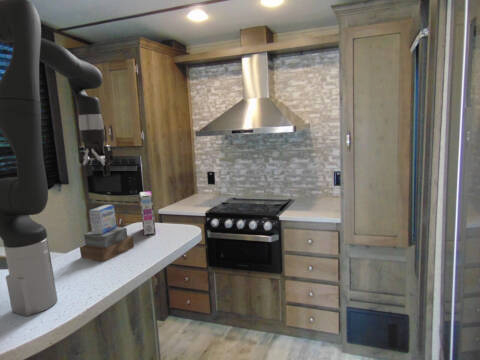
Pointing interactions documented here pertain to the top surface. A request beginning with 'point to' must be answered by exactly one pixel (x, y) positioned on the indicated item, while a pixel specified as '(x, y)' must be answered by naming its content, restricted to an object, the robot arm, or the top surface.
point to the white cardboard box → (147, 213)
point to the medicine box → (102, 219)
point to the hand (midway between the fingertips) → (98, 175)
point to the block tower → (106, 244)
